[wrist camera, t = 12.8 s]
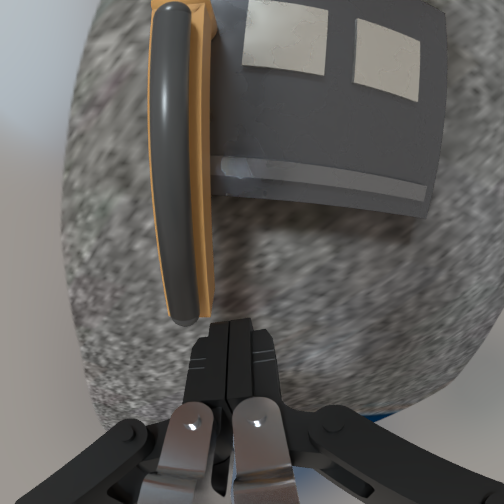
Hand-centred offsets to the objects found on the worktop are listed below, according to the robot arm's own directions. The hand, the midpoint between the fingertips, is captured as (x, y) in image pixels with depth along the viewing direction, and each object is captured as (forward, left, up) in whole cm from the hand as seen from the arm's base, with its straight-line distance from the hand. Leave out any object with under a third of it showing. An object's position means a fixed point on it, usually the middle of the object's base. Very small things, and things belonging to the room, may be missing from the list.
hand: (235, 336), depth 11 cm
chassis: (-12, +4, -13) cm, 18 cm away
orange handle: (-6, -3, -9) cm, 12 cm away
